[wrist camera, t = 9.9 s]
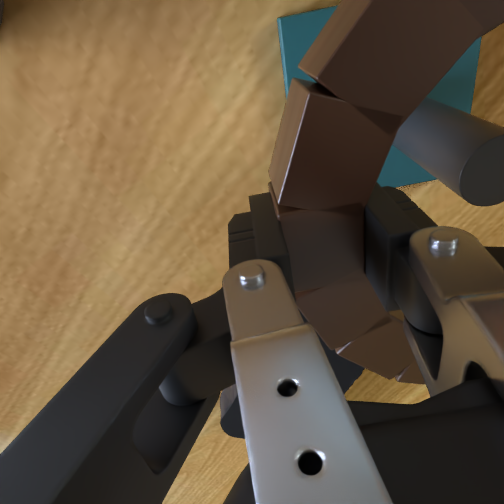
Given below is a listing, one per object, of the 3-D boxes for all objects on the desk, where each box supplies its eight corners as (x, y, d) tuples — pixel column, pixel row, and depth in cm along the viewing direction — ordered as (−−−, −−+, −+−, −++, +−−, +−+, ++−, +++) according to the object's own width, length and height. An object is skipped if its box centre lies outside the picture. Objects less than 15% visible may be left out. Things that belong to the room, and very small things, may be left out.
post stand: (479, -25, 18) (753, -68, 9) (453, 169, 23) (604, 269, 14) (276, 17, 18) (331, 20, 9) (297, 198, 24) (345, 315, 14)
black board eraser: (295, 414, 36) (301, 450, 33) (213, 398, 34) (212, 436, 31) (386, 291, 28) (406, 325, 25) (289, 261, 26) (298, 293, 23)
